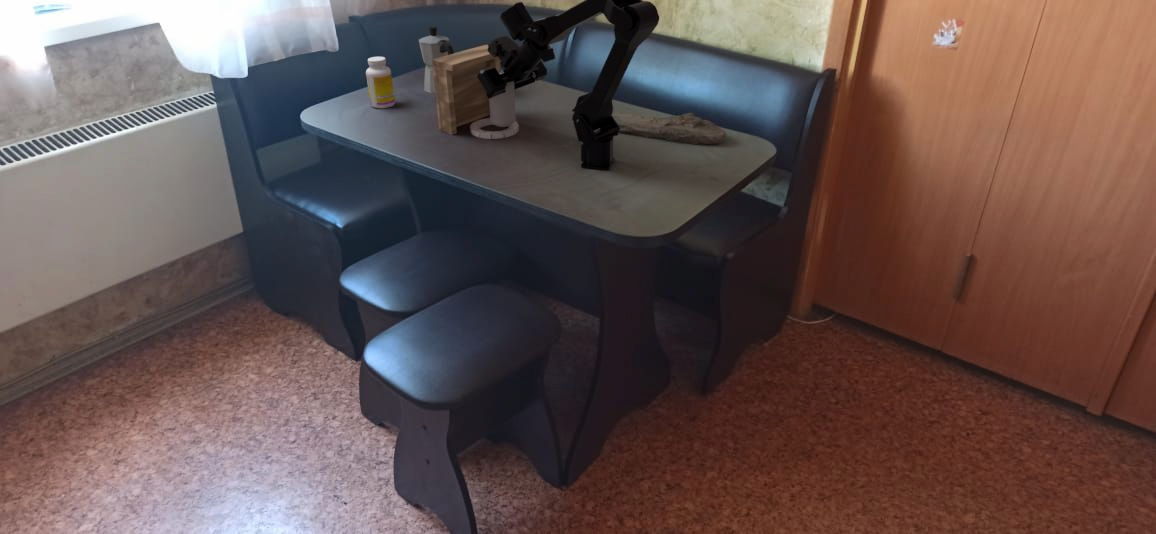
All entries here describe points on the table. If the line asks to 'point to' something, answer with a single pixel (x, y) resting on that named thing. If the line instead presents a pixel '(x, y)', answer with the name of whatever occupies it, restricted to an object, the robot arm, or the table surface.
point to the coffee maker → (433, 55)
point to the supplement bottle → (380, 83)
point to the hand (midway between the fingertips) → (497, 93)
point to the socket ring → (489, 134)
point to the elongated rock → (671, 128)
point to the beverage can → (503, 107)
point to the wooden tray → (461, 87)
